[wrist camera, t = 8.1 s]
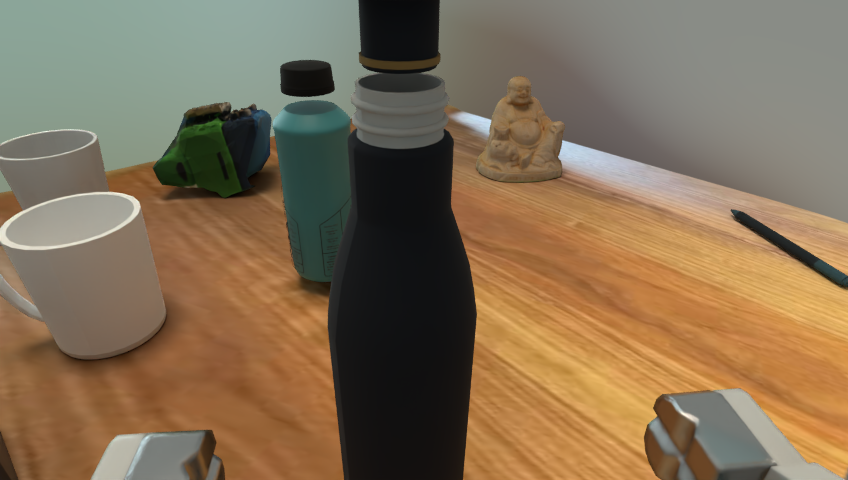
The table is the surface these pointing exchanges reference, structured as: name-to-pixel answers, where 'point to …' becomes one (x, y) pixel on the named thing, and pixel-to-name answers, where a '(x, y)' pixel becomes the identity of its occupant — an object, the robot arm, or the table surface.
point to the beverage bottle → (313, 168)
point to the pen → (793, 248)
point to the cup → (52, 165)
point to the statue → (521, 139)
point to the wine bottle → (401, 264)
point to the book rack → (6, 463)
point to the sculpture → (217, 149)
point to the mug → (86, 272)
